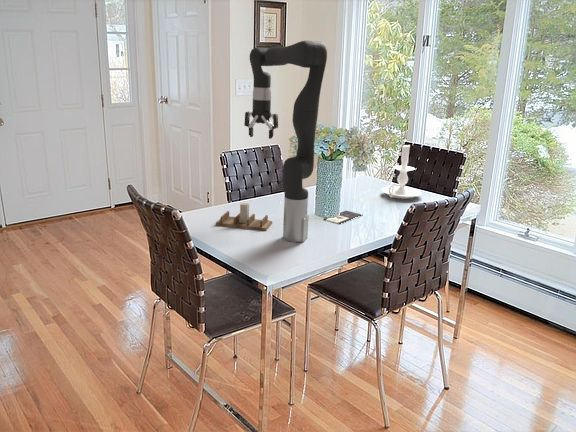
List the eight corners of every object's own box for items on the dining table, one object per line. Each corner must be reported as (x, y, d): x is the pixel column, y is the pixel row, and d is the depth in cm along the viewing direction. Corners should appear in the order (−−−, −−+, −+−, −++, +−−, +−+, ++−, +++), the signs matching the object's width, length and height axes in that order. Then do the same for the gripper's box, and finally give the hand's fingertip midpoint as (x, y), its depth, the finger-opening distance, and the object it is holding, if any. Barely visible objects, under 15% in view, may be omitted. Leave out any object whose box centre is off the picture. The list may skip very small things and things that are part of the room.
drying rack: (272, 223, 227) (272, 215, 226) (266, 230, 218) (266, 222, 217) (223, 218, 232) (223, 210, 231) (215, 225, 223) (215, 216, 221)
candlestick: (369, 198, 273) (374, 144, 264) (392, 189, 291) (397, 139, 283) (406, 206, 261) (412, 150, 252) (427, 197, 279) (433, 144, 271)
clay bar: (248, 221, 226) (249, 203, 223) (246, 223, 223) (247, 205, 220) (242, 220, 226) (242, 202, 224) (240, 222, 224) (240, 204, 221)
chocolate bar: (362, 214, 243) (340, 223, 230) (362, 216, 243) (340, 225, 230) (346, 210, 248) (323, 218, 235) (346, 212, 249) (323, 220, 236)
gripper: (242, 98, 216) (241, 137, 221) (275, 100, 212) (273, 140, 217) (249, 96, 223) (248, 135, 228) (281, 98, 219) (279, 137, 224)
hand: (260, 137), depth 222 cm, fingers open, 8 cm apart
